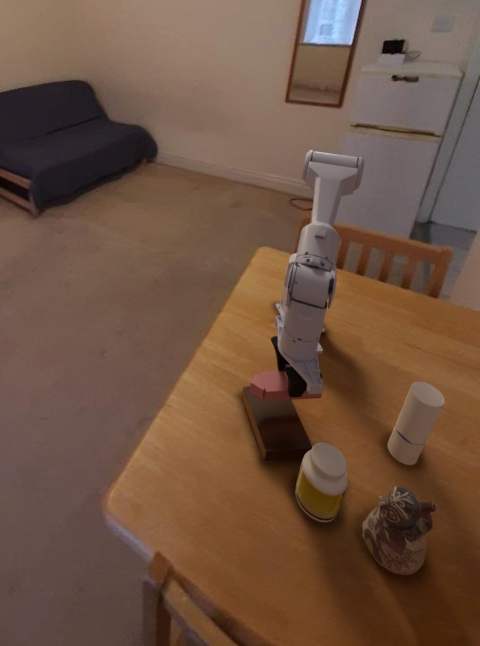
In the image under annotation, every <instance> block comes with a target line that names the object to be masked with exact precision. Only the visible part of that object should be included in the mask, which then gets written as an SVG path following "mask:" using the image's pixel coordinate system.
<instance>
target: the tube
mask: <svg viewBox="0 0 480 646" xmlns="http://www.w3.org/2000/svg"><path fill="white" fill-rule="evenodd" d="M444 404H445V396H444V395H443V394H442V392H441V391H440V390H439V389H438V388H436V387H435V386H434V385H432V384H430V383H428V382H424V381H420V380H419V381H414V382H412V383H411V385H410V387H409V390H408V392H407V394H406V397H405V399H404V402H403V405H402V406H401V410H400V412H399V414H398V417H397V419H396V422H395V424H394V427H393V429H392V432H391V434H390V436H389V439H388V441H387V449H388V452H389V454H390V455H391V456H392V457H393V458H394V459H395V460H396V461H397V462H399V463H401V464H403V465H406V466H413V465H415V464H416V463H417V462H418V459H419V457H420V456H421V453H422V451H423V449H424V447H425V445H426V443H427V440H428V438H429V436H430V434H431V432H432V430H433V428H434V426H435V423H436V422H437V419H438V417H439V415H440V413H441V411H442V409H443V406H444Z"/></svg>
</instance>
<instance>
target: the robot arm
mask: <svg viewBox="0 0 480 646" xmlns="http://www.w3.org/2000/svg"><path fill="white" fill-rule="evenodd" d="M364 169H365V160H364V158H363V157H362V156H353V155H352V156H351V155H343V154H336V153H329V152H321V151H314V150H313V149H310V150H309V151H307V152H306V154H305V159H304V163H303V167H302V174H301V179H302V181H303V183H304V185H305V187H307V189H310V190H311V191H312V192H314V193H313V201H312V208H311V209H312V210H311V214H310V220H309V223H308V224H306V225H304V226H303V227H302V229H301V231H300V235H299V236H300V237H299V241H298V245H297V249H296V252H295V253H291V256H290V257H289V259H288V262H287V266H286V270H285V275H284V280H283V284H282V287H281V291H280V297H279V303H275V307H276V310H277V312H278V313H279V315H275V317H274V325H275V327H276V329H277V335H274V336H272V337H271V338H270V341H271V344H272V346H273V349H274V353H275V357H276V364H277V371H285V372H286V375H287V378H288V394H289V396H290V397H301V396H302V395H303V394H304V392H305V391H306V390H307V391H308V393H309V394H321V393H322V394H323V392H322V390H323V391H324V385H325V384H324V382H323V379H322V378H323V374H322V372H321V370H320V365H319V364H320V363H319V356H318V355H321V354H323V350H324V349H323V347H322V346H321V344H320V338H321V334H322V333H325V332H326V329H325V328H324V326H323V325H324V323H325V317H326V313H327V310H330V309H331V306H332V304H333V302H334V299H335V293H336V288H337V280H338V279H337V266H338V265H336V263H337V256H338V250H339V243H340V235H339V233H338V231H336V229H335V228H334V225H335V221H336V219H337V218H336V217H337V214H338V210H339V206H340V203H341V200H342V197H345V196H349V195H352V194H354V191H356V190H358V189H359V188H360V186H361V183H362V179H363V174H364ZM289 364H290V365H291V366H292V367H286V365H289Z"/></svg>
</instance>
